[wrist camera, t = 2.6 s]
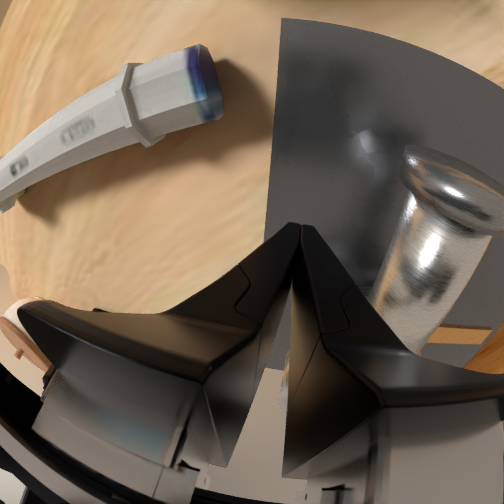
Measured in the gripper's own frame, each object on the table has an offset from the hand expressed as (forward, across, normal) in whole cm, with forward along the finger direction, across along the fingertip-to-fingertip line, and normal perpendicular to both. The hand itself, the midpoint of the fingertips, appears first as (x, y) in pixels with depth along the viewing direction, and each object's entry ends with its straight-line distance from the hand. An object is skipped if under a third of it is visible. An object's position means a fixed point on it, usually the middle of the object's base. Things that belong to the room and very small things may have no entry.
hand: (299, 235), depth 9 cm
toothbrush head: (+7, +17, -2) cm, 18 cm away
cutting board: (+6, -9, +5) cm, 12 cm away
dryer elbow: (+3, -5, +6) cm, 8 cm away
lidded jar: (+6, +33, +23) cm, 41 cm away
